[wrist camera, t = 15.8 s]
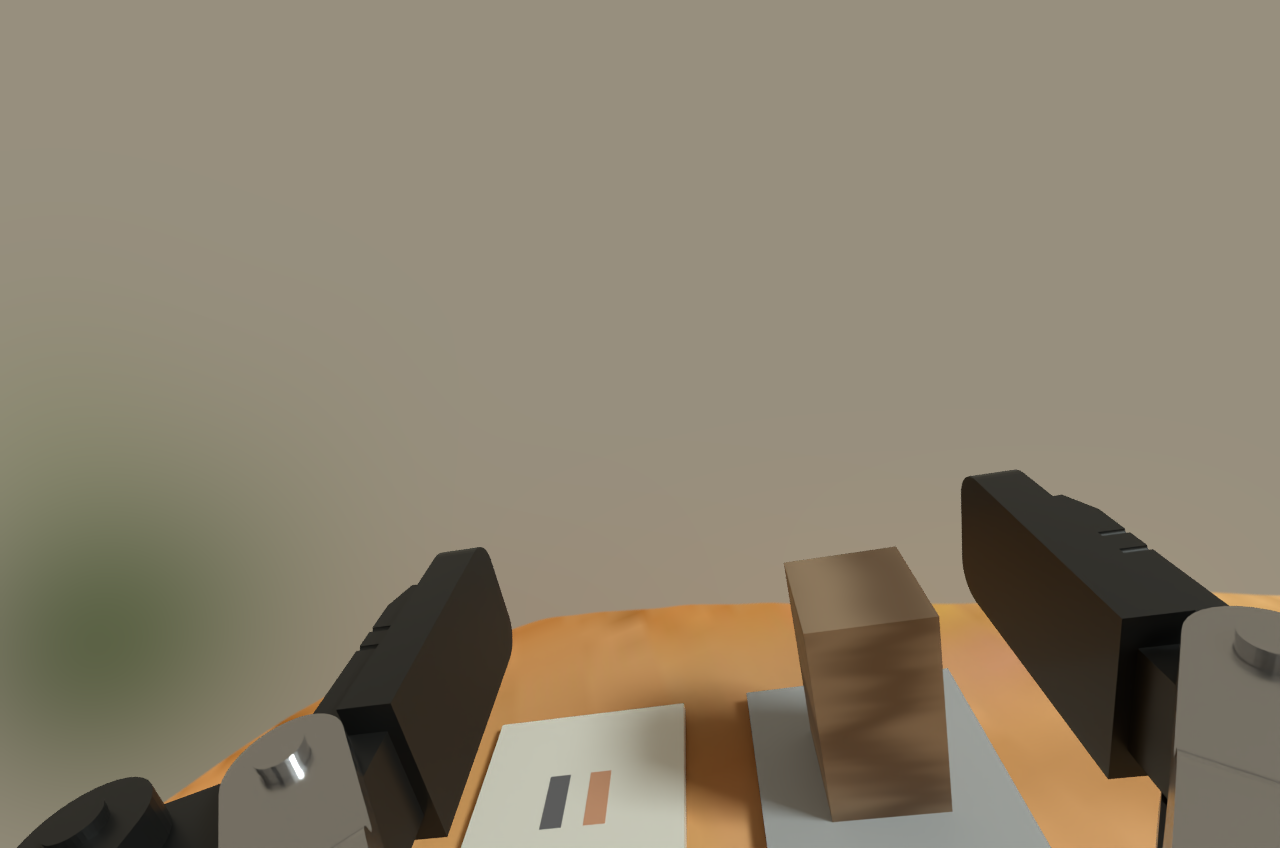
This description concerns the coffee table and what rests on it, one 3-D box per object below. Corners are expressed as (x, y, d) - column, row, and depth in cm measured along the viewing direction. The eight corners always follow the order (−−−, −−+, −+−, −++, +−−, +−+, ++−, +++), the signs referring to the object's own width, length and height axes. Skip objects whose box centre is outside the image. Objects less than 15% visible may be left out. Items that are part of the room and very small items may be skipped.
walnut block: (832, 822, 29) (803, 634, 26) (810, 730, 35) (783, 562, 31) (952, 811, 29) (938, 616, 25) (911, 719, 34) (895, 546, 30)
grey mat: (776, 909, 27) (773, 896, 27) (748, 702, 38) (746, 692, 38) (1066, 887, 26) (1066, 874, 25) (948, 678, 37) (947, 668, 37)
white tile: (437, 935, 29) (433, 926, 29) (505, 732, 41) (502, 724, 40) (687, 916, 28) (684, 907, 28) (685, 710, 39) (683, 703, 39)
